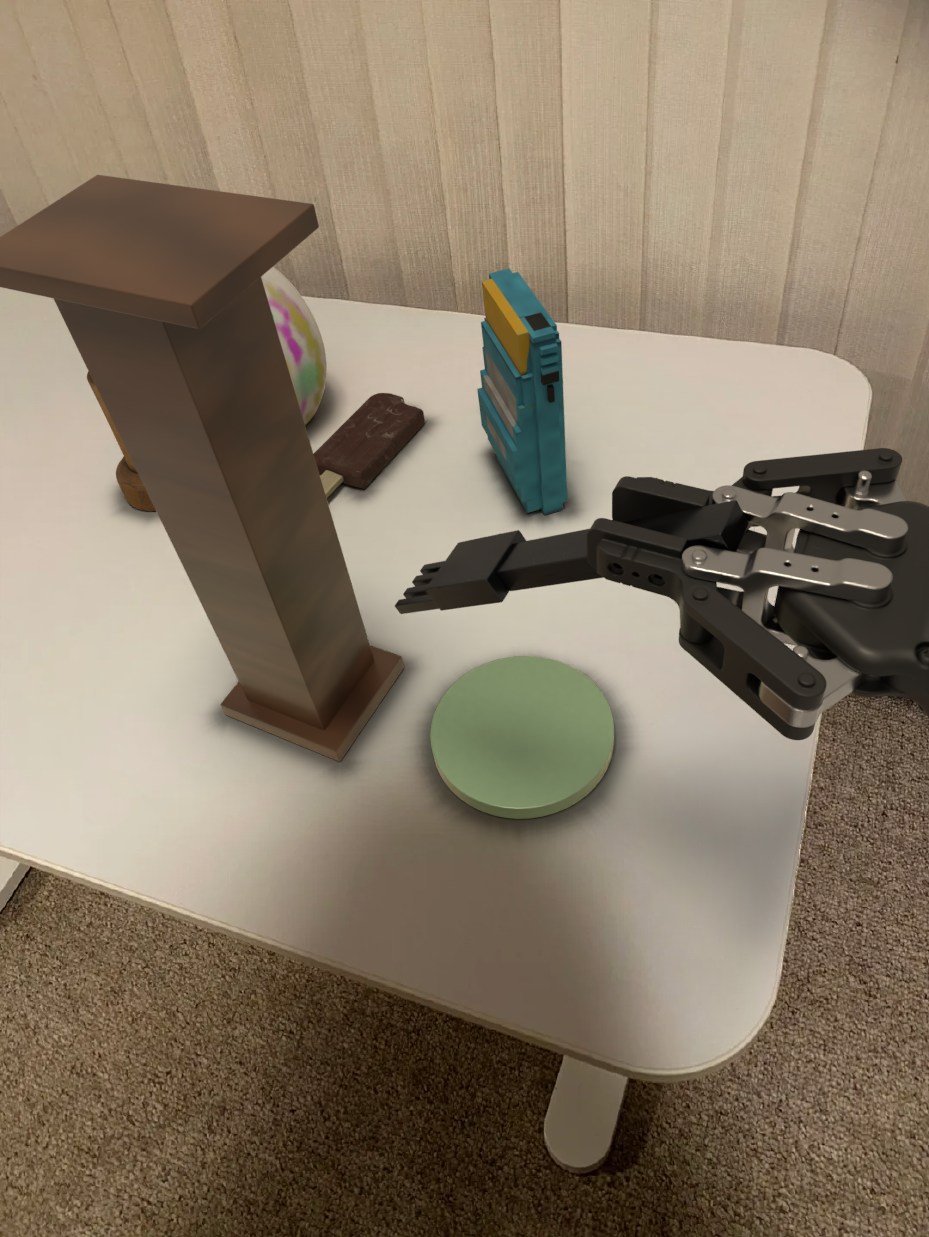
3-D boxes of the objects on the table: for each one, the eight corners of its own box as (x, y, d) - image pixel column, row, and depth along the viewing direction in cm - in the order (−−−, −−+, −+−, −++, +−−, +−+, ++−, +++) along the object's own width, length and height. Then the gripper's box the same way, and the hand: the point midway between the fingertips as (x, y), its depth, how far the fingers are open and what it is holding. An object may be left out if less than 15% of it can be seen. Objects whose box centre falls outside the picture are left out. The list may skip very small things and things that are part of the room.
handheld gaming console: (574, 510, 69) (568, 332, 58) (522, 525, 69) (506, 349, 57) (530, 436, 75) (517, 263, 64) (482, 449, 75) (461, 278, 64)
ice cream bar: (328, 529, 71) (430, 418, 79) (323, 513, 69) (428, 402, 77) (275, 511, 73) (380, 404, 81) (269, 495, 72) (376, 388, 80)
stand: (360, 770, 56) (190, 305, 33) (207, 707, 60) (-37, 260, 37) (424, 674, 60) (314, 203, 37) (277, 622, 65) (97, 174, 42)
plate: (570, 847, 51) (569, 837, 50) (400, 778, 55) (396, 767, 54) (640, 699, 57) (641, 687, 56) (482, 647, 61) (481, 635, 60)
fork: (728, 572, 33) (711, 542, 32) (398, 616, 46) (382, 596, 45) (755, 512, 35) (740, 483, 34) (431, 570, 48) (416, 550, 47)
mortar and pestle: (175, 517, 74) (80, 313, 60) (109, 504, 76) (4, 304, 62) (218, 465, 78) (138, 263, 64) (154, 454, 80) (64, 255, 66)
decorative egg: (198, 471, 77) (130, 308, 66) (204, 388, 85) (144, 232, 74) (342, 444, 78) (299, 278, 66) (334, 365, 86) (294, 204, 75)
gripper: (1164, 430, 31) (666, 344, 38) (1139, 749, 23) (522, 571, 30) (1079, 583, 37) (658, 485, 43) (1036, 881, 29) (535, 706, 36)
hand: (604, 521), depth 37 cm, fingers closed on fork
